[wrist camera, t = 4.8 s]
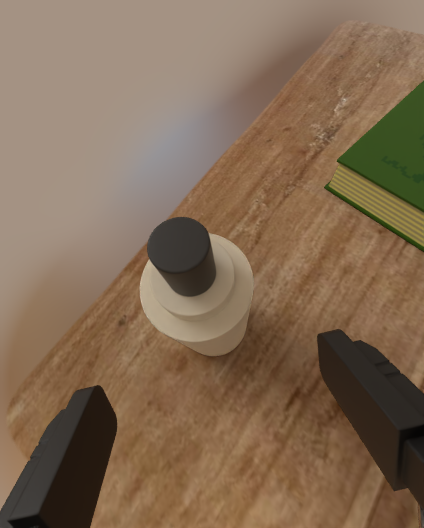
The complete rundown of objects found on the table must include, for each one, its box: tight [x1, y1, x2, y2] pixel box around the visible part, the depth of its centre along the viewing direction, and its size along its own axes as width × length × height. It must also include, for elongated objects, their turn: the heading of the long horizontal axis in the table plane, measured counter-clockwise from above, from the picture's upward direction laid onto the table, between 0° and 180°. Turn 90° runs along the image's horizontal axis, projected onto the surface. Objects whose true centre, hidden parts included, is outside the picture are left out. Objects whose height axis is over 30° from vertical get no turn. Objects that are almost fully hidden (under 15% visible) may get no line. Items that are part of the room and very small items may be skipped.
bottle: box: [140, 217, 254, 356], centre depth 15 cm, size 6×6×14 cm
